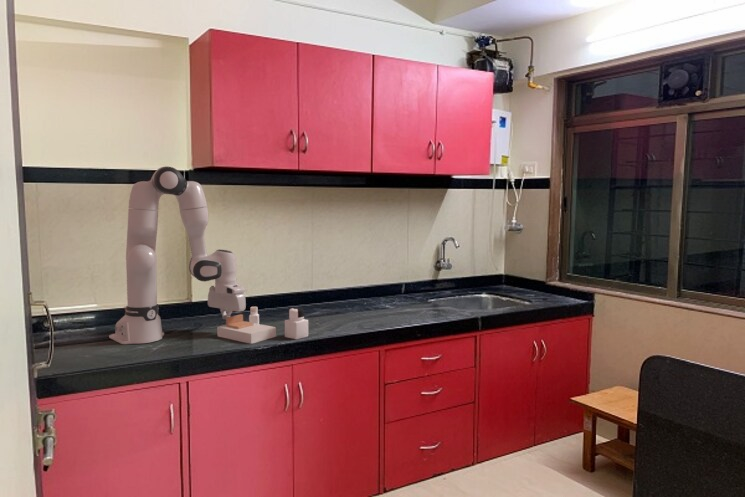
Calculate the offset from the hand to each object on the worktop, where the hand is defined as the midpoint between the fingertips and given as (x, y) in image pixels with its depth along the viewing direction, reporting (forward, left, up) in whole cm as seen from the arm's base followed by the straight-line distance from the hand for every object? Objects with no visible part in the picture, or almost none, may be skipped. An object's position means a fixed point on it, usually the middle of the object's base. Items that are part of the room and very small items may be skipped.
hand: (226, 319), depth 238 cm
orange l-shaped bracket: (+8, 0, -2) cm, 9 cm away
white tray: (+12, 0, -6) cm, 14 cm away
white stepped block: (+29, +12, -6) cm, 32 cm away
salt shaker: (+4, +12, -6) cm, 14 cm away
